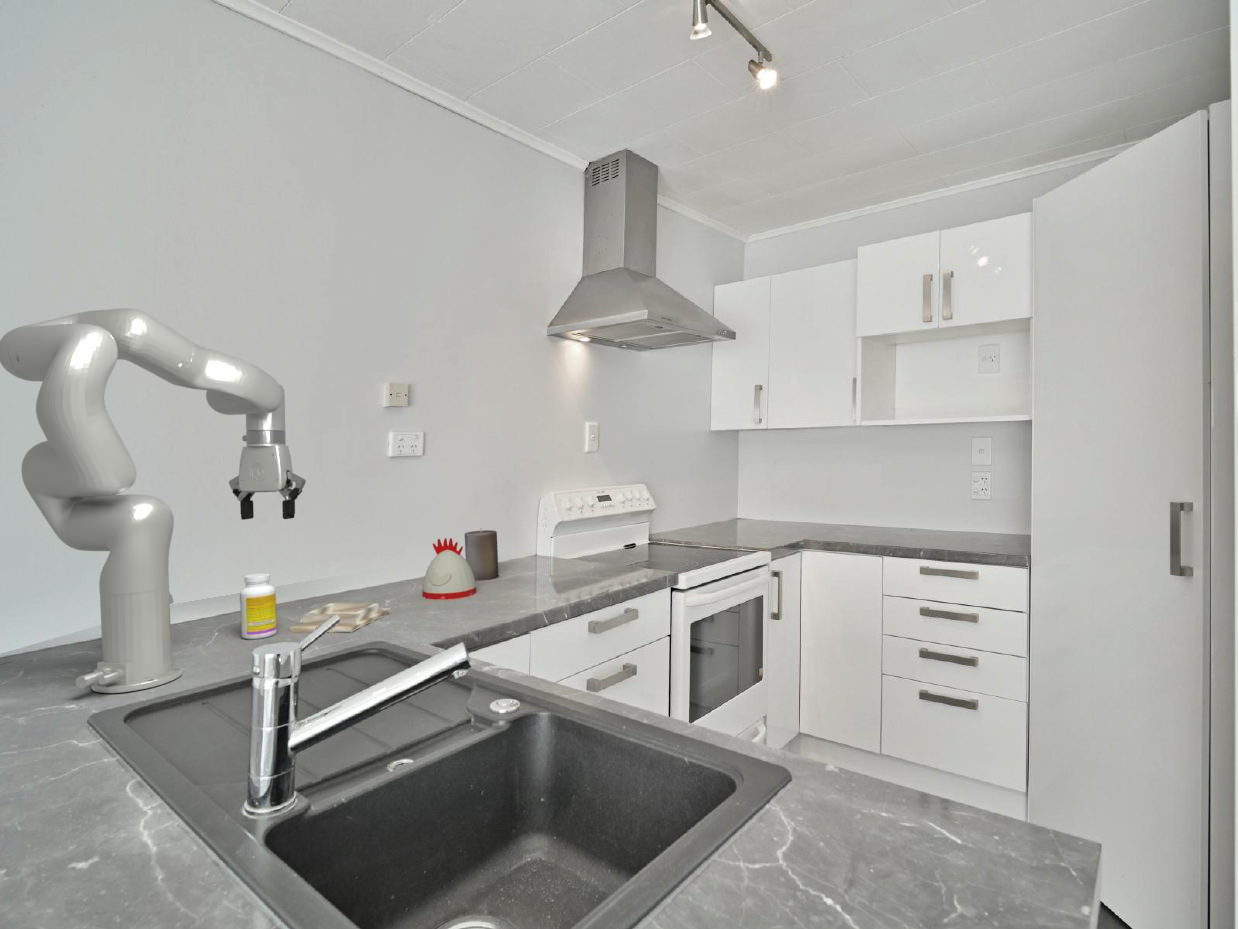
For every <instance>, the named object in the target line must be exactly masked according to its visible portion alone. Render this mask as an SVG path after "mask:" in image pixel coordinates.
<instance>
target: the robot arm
mask: <svg viewBox="0 0 1238 929" xmlns="http://www.w3.org/2000/svg"><path fill="white" fill-rule="evenodd" d="M118 360H122V361H128V362H130V363H132V364H134V365H136V366H137V367H139V368H142V369H144V370H145V371H147V372H150V374H153V375H155V376H157V377H158V378H161V379H162V380H164V381H165V382H167V383H170V384H172V385H174V386H178V387H182V388H187V389H192V390H201V391H206V394H205V397H206V402H207V403H208V406H209V407H210V408H211V409H212V410H213V411H215V412H217V413H219V414H222V415H225V416H227V415H229V416H237V415H238V416H240V415H241V416H242V415H245V428H246V429H245V433H246V434H245V435H242V437H241V438H242V441H243V442H245V443H246V446H243V447H242V449H241V452H240V454H241V455H240V460H239V469H238V475H237V476H235V477H233V478H232V479H230V480H229V481H228V484H229V487H230V489H231V490H232V494H233V495H234V496H235V497H236V499H237V501H238V502H240V504H239V505H240V506H239V509H240V518H241V519H240V520H241V521H242V520H243V521H244V520H250V519H253V518H254V515H255V514H254V511H255V510H254V501H253V500H251V499H252V498H253V496H254V495H255V494H256V493H275V492H276V493H277V492H279V494H280V495H281V496H282V497H283V499H284V500H282V503H281V504H282V506H281V508H282V519H284V520H291V519H294V518H295V514H296V500H297V499H298V497H299V496H300V495H301V494H302V492H303V489H304V487H305V485H306V482H307V481H306V479H305V478H303V477H301V476H300V475H298V474H295V473H294V472H293V464H292V456H291V453H290V448H289V446H288V445H287V446H286V405H285V404H286V401H285V397H286V396H285V388H284V386H282V385H281V384H279V383H278V381H277V380H276V379H275V378H274V377H272V375H270V374H269V373H267V372H266V371H264V370H263V369H261V368H260V367H258V366H257V365H255V364H253V363H251V362H249V361H246V360H243V359H240V358H238V357H235V356H232V355H229V354H226V353H223V352H220V351H217V350H213V349H210V348H206V347H204V346H201V345H198V344H196V343H195V342H194V341H192V340H190V339H188V338H187V337H185V336H184V335H183V334H181V333H179V332H177V331H176V330H174V329H173V328H171V327H170V326H168V325H167V324H164V323H163V322H162V321H160V320H159V319H157V318H155V317H153V315H150V314H149V313H147V312H145V311H143V310H140V309H135V308H113V309H112V308H111V309H98V310H87V311H82V312H81V311H80V312H78V313H73V314H69V315H65V316H61V317H58V318H54V319H50V320H49V319H48V320H44V321H40V322H39V321H38V322H36V323H32V324H31V323H30V324H27V325H21V326H18V327H15V328H12V329H11V330H9V331H7V332H6V333H5V334H4V335H3V336H2V337H1V339H0V364H1V366H2V367H3V368H4V370H5V371H7V372H8V373H9V374H10V375H12V376H14V377H15V378H18V379H21V380H23V381H27V382H41V385H40V388H39V390H38V394H37V398H36V402H35V414H36V418H37V421H38V425H39V426H40V429H41V430H42V433H43V434H44V436H45V438H46V440H44V441H41V442H39V443H37V444H35V445H33V446H32V447H31V448H30V449H28V451H27V452H26V453H25V455H24V457H23V459H22V461H21V462H22V463H21V478H22V481H23V484H24V487H25V489H26V490H27V492H28V494H29V495H30V497H31V499H32V500H33V502H34V503H35V505H36V506H37V508H38V510H39V512H40V513H41V514H42V516H43V517H44V519H45V521H46V522H47V524H48V525H49V526H50V528H51V529H52V530H53V532H54V534H55V535H56V536H57V538H58V539H59V540H60V542H62V543H63V544H64V545H66V546H68V547H69V548H71V549H74V550H78V551H84V552H109V553H108V557H107V558H106V560H105V563H104V564H103V567H102V569H101V572H100V575H99V582H98V584H99V585H98V586H99V587H98V588H99V600H100V601H99V602H100V604H99V605H100V606H99V607H100V624H101V626H100V628H101V632H100V633H101V654H102V655H101V656H102V661H98V662H97V663H96V669H94V670H93V672H88V673H87V674H83V675H80V676H78V677H77V678H76V679H75V685H76V687H77V688H78V689H81V690H82V689H85V688H87V687H91V690H92V691H94V692H96V693H98V694H99V693H101V694H116V693H117V694H119V693H121V694H122V693H128V692H135V691H141V690H145V689H150V688H153V687H157V686H160V685H164V684H168V683H170V682H172V681H174V680H176V679H178V678H180V677H181V676H182V675H183V673H184V667H183V666H182V664H179V663H177V662H172V661H173V659H172V655H173V654H172V632H171V628H172V627H171V604H170V599H169V592H170V580H169V562H170V561H169V560H170V559H169V557H170V548H171V543H172V542H171V541H172V538H173V534H174V528H175V518H174V514H173V511H172V509H171V508H170V506H169V505H168V504H167V503H166V502H165V501H163V499H162V500H161V499H160V498H158V497H156V496H151V495H148V494H139V493H138V494H131V493H129V494H121V493H125V492H126V491H128V490H129V489H130V488H131V487H133V485H134V483H135V482H136V479H137V469H136V465H135V461H134V460H133V458H132V457H131V454H130V453H129V450H128V449H127V446H126V445H125V443H124V442H123V440H122V438H121V435H120V434H119V432H118V430H117V428H116V426H115V424H114V423H113V421H112V419H111V417H110V414H109V412H108V410H107V407H106V404H105V403H106V402H105V393H106V388H107V384H108V382H109V379H110V376H111V374H112V372H113V370H114V368H115V367H116V364H117V361H118ZM294 483H295V485H293V484H294ZM293 486H294V487H293Z"/></svg>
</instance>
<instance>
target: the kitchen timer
mask: <svg viewBox="0 0 1238 929" xmlns="http://www.w3.org/2000/svg"><path fill="white" fill-rule="evenodd" d="M458 544H459V543H458V541H456V542H454V543H453V539H452V537H450V538H449V540H447V537H446V538H444V540H443V544H442V541H441V538H438V539H437V545H436V543H432V547H433V550H434V551H435V553H436V555H435V557H434V558H433V559H432V560H431V561H430V564H429V565H428V566H427V569H426V572H425V575H424V579H423V583H422V588H421V589H422V590H421V591H422V593H421V594H422V597H423V598H424V597H425V598H424V599H428V600H436V599H439V601H440V600H454V599H455V600H456V599H463V598H467V597H470V596H474V595H475V594H476V592H477V584H476V580H475V579H474V576H473V573H472V570H471V568H470V566H469V564H468V562H467V561H466V557H464V556H463V555H462V554H461V553H462V551H463V550H464V549H463V548H464V546H463V545H462V546H461V547H460V548H459V550H458V549H457V548H458Z"/></svg>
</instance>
